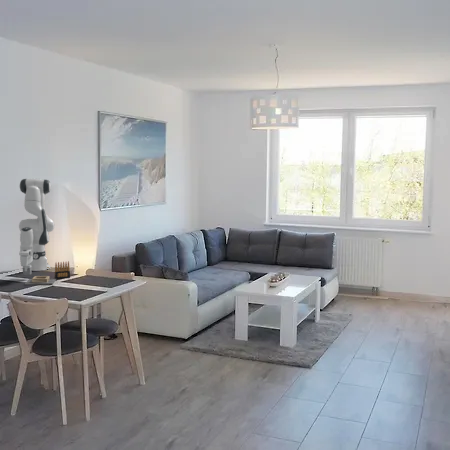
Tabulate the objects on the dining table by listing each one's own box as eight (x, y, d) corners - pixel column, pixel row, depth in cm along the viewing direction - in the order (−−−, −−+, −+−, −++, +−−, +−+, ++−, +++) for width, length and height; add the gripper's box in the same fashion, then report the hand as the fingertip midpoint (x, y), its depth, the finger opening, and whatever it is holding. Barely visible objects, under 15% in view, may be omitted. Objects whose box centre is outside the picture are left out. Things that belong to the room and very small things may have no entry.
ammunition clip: (69, 277, 425) (69, 260, 424) (70, 277, 423) (70, 261, 422) (54, 278, 420) (54, 261, 418) (55, 279, 418) (55, 262, 417)
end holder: (30, 280, 412) (29, 275, 412) (56, 280, 414) (56, 275, 414) (24, 285, 396) (24, 279, 396) (52, 285, 398) (52, 279, 398)
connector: (24, 273, 416) (24, 264, 415) (31, 273, 416) (31, 265, 416) (22, 274, 412) (22, 266, 411) (30, 274, 412) (30, 266, 412)
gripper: (25, 248, 422) (26, 267, 424) (18, 253, 402) (18, 273, 404) (34, 248, 422) (35, 267, 424) (28, 253, 402) (28, 273, 404)
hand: (27, 270), depth 414 cm, fingers closed on connector, 4 cm apart
